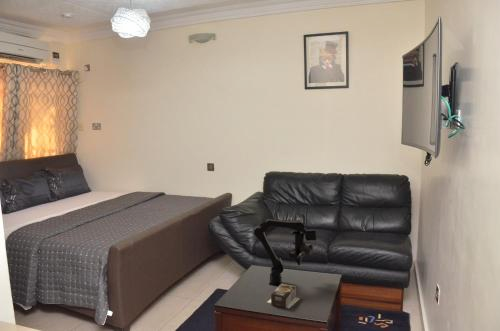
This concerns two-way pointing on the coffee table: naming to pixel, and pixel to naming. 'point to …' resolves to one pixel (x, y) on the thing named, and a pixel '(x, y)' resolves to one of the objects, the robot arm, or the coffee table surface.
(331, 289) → the coffee table surface
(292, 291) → the coffee box
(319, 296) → the coffee table surface
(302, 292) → the coffee table surface
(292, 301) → the mat
